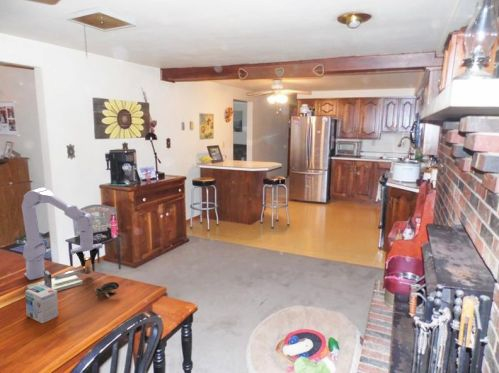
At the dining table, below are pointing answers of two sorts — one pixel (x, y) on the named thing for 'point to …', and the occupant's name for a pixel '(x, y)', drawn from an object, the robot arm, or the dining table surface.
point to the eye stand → (57, 282)
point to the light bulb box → (41, 303)
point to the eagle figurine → (106, 289)
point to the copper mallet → (86, 270)
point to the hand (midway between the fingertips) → (87, 264)
